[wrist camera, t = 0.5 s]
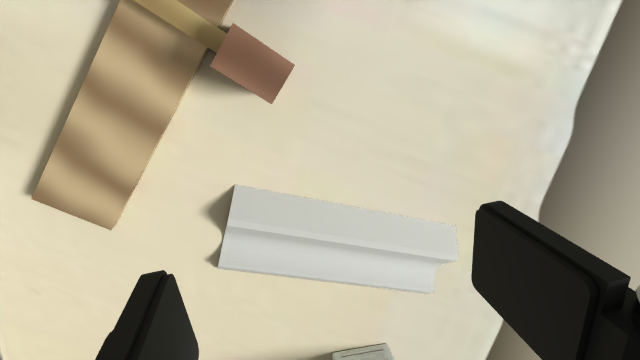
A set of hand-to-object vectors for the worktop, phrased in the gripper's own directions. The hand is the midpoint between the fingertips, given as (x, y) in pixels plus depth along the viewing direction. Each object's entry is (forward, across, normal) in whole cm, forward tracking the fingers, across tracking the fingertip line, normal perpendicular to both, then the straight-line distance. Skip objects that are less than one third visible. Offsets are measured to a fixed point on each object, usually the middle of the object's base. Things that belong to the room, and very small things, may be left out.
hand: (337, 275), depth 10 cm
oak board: (+30, +14, -3) cm, 33 cm away
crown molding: (+31, -6, +19) cm, 37 cm away
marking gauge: (+30, +5, -9) cm, 31 cm away
